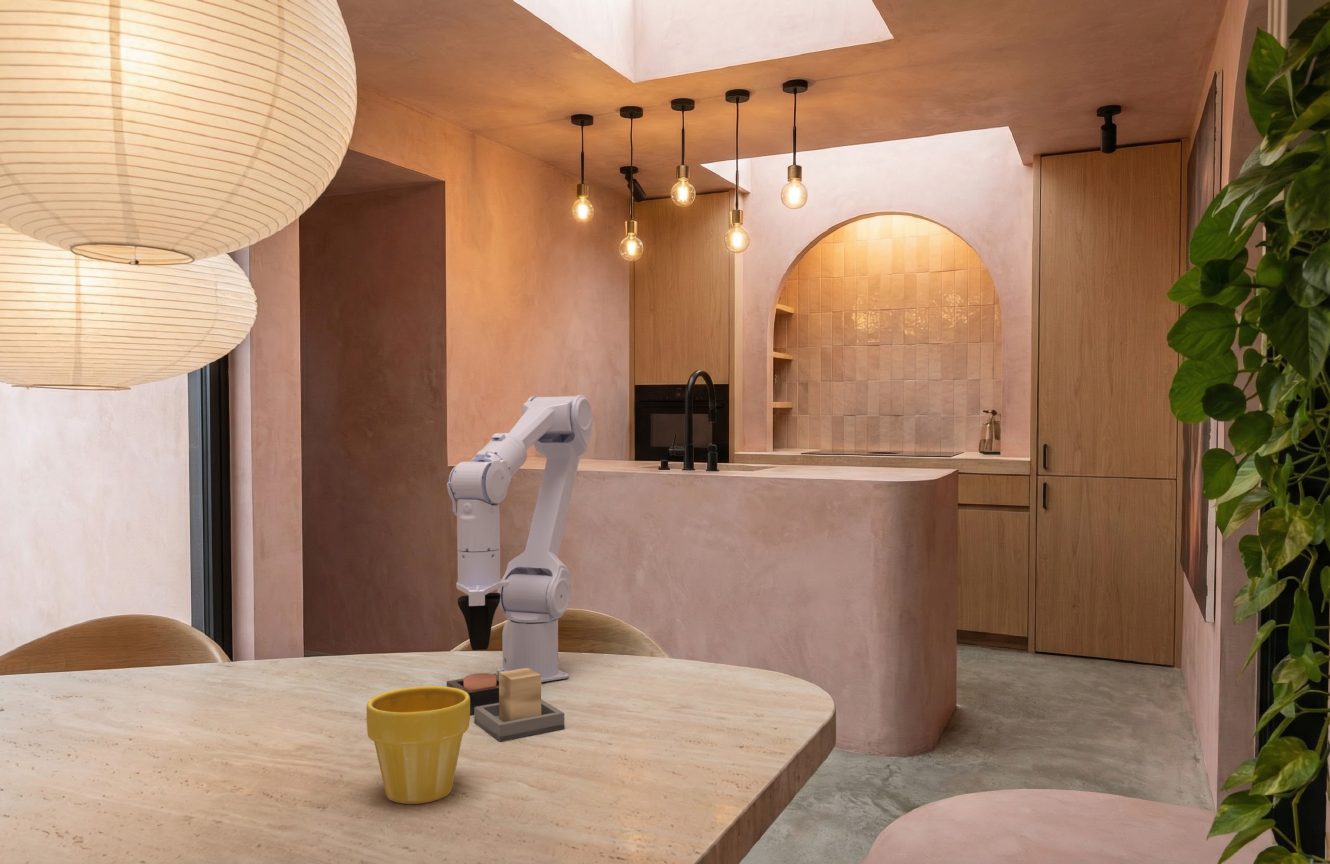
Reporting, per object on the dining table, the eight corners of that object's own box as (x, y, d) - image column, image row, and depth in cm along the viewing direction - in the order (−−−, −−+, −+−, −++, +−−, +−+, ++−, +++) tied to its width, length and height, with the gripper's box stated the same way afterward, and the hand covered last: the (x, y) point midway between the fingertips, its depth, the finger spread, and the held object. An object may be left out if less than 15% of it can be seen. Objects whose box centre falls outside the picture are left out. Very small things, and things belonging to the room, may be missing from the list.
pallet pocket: (474, 722, 118) (474, 706, 118) (536, 711, 122) (536, 696, 122) (499, 741, 111) (499, 725, 111) (564, 728, 115) (564, 712, 115)
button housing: (446, 702, 126) (446, 681, 126) (494, 694, 130) (494, 673, 130) (464, 716, 120) (464, 693, 120) (514, 707, 124) (514, 685, 124)
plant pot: (430, 765, 103) (430, 678, 103) (491, 788, 96) (490, 695, 96) (347, 794, 95) (346, 700, 95) (406, 821, 88) (406, 720, 88)
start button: (459, 698, 126) (458, 676, 126) (489, 692, 128) (489, 671, 128) (470, 706, 122) (470, 683, 122) (501, 700, 125) (501, 678, 125)
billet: (499, 719, 117) (499, 672, 117) (528, 713, 119) (527, 667, 119) (511, 727, 114) (511, 679, 114) (541, 721, 116) (540, 674, 116)
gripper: (507, 555, 119) (509, 660, 119) (509, 541, 133) (510, 635, 133) (451, 557, 118) (453, 663, 118) (459, 543, 132) (460, 637, 132)
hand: (480, 648), depth 125 cm, fingers closed
